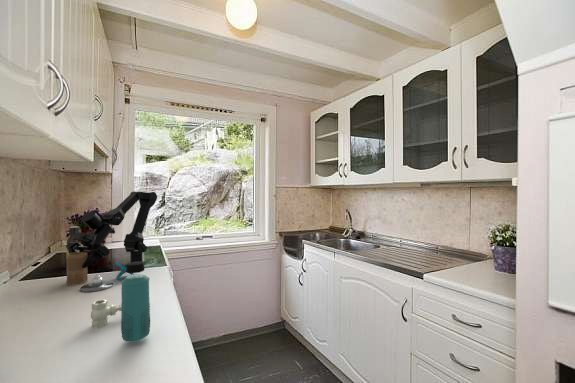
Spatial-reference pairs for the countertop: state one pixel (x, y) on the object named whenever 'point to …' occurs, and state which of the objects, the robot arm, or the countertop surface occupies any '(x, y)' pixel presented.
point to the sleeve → (76, 268)
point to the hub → (96, 285)
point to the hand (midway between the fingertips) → (74, 266)
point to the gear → (121, 271)
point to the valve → (102, 312)
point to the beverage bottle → (135, 304)
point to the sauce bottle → (70, 239)
